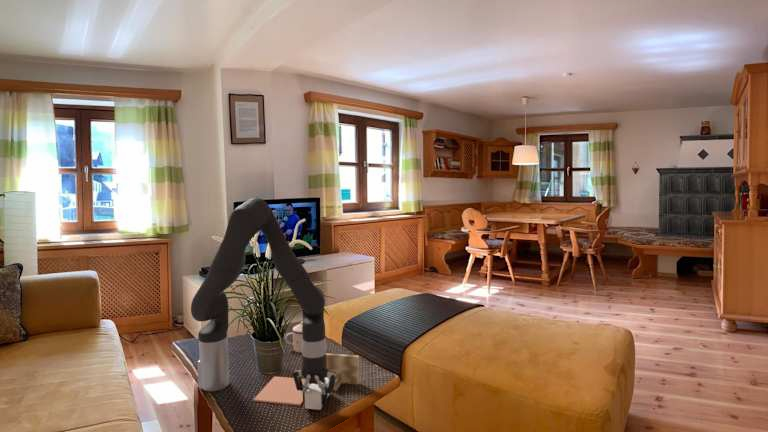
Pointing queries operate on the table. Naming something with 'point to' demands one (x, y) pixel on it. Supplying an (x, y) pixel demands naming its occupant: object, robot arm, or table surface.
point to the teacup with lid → (296, 338)
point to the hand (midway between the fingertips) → (315, 403)
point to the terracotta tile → (281, 392)
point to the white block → (314, 396)
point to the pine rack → (343, 368)
